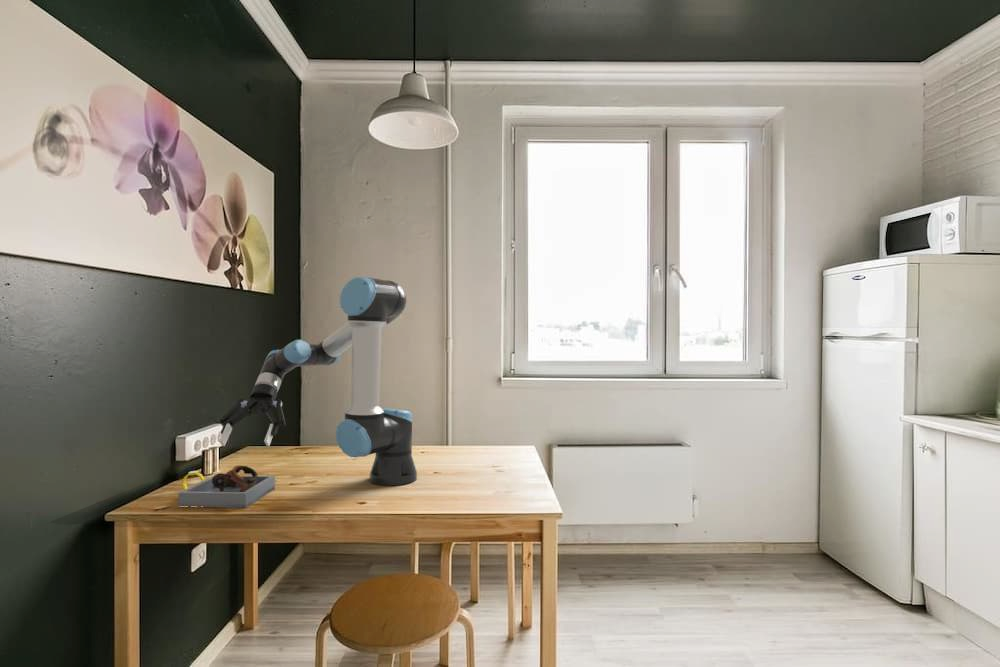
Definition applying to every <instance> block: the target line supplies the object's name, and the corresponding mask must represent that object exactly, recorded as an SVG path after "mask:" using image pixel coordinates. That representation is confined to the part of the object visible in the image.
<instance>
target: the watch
mask: <svg viewBox="0 0 1000 667" xmlns="http://www.w3.org/2000/svg"><path fill="white" fill-rule="evenodd" d="M195 475H196V476H197V477H199V478H200V480H201V482H202V481H204V480H206V479H205V477H204V476H203V474H202V473H200V471H199V470H191V471H189V472H188V473H187V474H186V475H185V476H184V477H183V479H182V487H183V490H185V489H187V488H189V487H188V485H187V479H188V477H189V476H195Z"/></svg>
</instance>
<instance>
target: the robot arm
mask: <svg viewBox="0 0 1000 667" xmlns="http://www.w3.org/2000/svg"><path fill="white" fill-rule="evenodd" d="M339 304H340V308H341V309H342V311H343V313H345V314H346V315H347V322H346V323H344V324H343V325H342V326H341V327H339V328H338V329H336V330H335V331H334V332H332V333H331V334H330V335H328V336H327V337H326V338H325V339H323V340H322V341H320V342H319V343H316V344H315V343H314V344H313V343H308V342H306V341H304V340H303V339H295V340H294V341H291V342H290V343H287V344H286V346H284V347H283V348H282V349H273V350H271V351H270V352H269V353H268V354H267V355H266V357H265V360H264V362H263V365H262V366H261V370H260V372H259V375H258V377H257V379H256V381H255V384H254V386H253V389H252V391H251V393H250V397H249V399H248V400H243V398H239V399H238V400H237V402H236V403H235V405H234V406H233V407H231V408H230V409H229V410H228V411H227V412H226V413H225V414H224V415H223V416H222V417H221V418H220V419H219V420H218V422H219V423H220V426H221V427H222V428H221V430H220V434H221V436H220V438H219V443H220V445H221V446H222V447H226V444H227V442H228V439H229V437H230V435H231V433H232V431H233V426H234V425H236V424H238V423H239V422H240V421H242V420H243V419H244V418H246V417H247V416H248V417H249V416H251V415H252V414H253V415H257V414H259V415H264V414H266V415H267V416H268V418H269V419H270V421H271V423H270V424H269V427H268V429H267V433H266V435H265V437H264V440H263V442H264V444H265V446H266V447H270V445H271V443H272V439H273V437H276V436H277V434H278V433H277V432H278V431H279V428H280V427H282V428H283V427H286V426H287V424H286V423H287V422H286V419H285V416H284V412H283V411H284V410H283V404H284V403H283V402H282V399H281V398H278V399H277V400H276V398H277V396H278V392H279V390H280V387H281V385H282V382H283V379H284V377H285V376H286V374H287V373H290V372H291V371H292V370H294V369H295V368H297V367H311V366H329V365H330V366H331V365H335V364H337V363H338V362H339V359H340V358H341V354H343V353H344V352H346V351H347V350H349V349H350V348H351V369H350V373H351V374H350V375H351V376H350V398H349V400H350V403H349V404H350V405H349V407H348V408H346V410H345V411H344V419H343V420H342V421H340V422H339V424H338V425H337V427H336V430H335V438H336V443H337V446H338V447H339V448H340V449H341V452H342V453H343V454H344V455H347V457H350V458H361V457H367V456H369V455H373V454H375V457H374V461H373V463H372V466H371V470H370V473H369V481H370V482H371V483H372V484H375V485H379V486H400V485H408V484H410V483H413V482H415V481H416V480H417V479H418V474H417V473H418V472H417V468H416V465H415V462H414V459H413V456H412V451H413V450H412V448H413V445H412V444H413V441H412V440H413V414H412V412H410V411H409V410H406V409H397V408H382V407H381V406H380V393H381V392H380V391H381V390H380V387H381V386H380V385H381V383H380V382H381V361H382V360H381V357H382V356H381V355H382V354H381V353H382V351H381V350H382V329H383V327H384V326H385V325H389V324H390V323H391V322H393V321H395V320H396V319H397V318H398V317H400V316H401V315H402V313H403V311H404V310H405V308H406V305H407V295H406V292H405V290H404V288H403V287H402V286H401V285H400V284H398V282H394V281H392V280H386V279H380V278H374V277H361V276H358V277H354V278H351V279H350V280H348V281H347V283H345V285H344V286H343V287H342V290H341V292H340V297H339ZM273 407H275V408H276V411H277V415H278V419H279V420H277V418H276V417H275V415H274V413H273V412H272V410H271V409H272V408H273Z"/></svg>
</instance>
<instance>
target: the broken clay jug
mask: <svg viewBox="0 0 1000 667" xmlns="http://www.w3.org/2000/svg"><path fill="white" fill-rule="evenodd" d="M241 471H243V474H245V475H247V474H249V475H251V476H253V478H251V479H248V480H247V482H243V481H244V478H243V477H241V476H242V475H239V474H238V473H239V472H241ZM213 476H214V477H213ZM213 476H212V477H213V478H212V483H213V485H214V486H215V487H216V488H219V489H220V492H222V491H224V488H226V487H234V488H235V487H236V484H237V483H238V484H240V485H242V487H241V490H240V492H245V491H246V490H248V489H250V488H251V487H253V486H255V485H256V482H257V479H256V478H257V476H258V472H256V471H255V469H253V468H252V467H249V466H246V465H235V466H234V467H233V468H232V469H231V470H229V471H227V472H226V473H221V472H220V473H216V474H214V475H213ZM219 479H221V480H222V482H221V483H218V480H219Z"/></svg>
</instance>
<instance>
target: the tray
mask: <svg viewBox="0 0 1000 667" xmlns="http://www.w3.org/2000/svg"><path fill="white" fill-rule="evenodd" d="M214 476H215V475H213V476H211V477H209V478H207V479H205V480H204V481H202V480H201V481H200V482H198V483H196V484H194V485H192V486H190V487H188V488H187V489H183V490H181V491H179V492H178V500H177V501H178V503H177V504H178V505H177V506H188V507H191V506H197V507H201V506H203V507H216V508H215V509H246V508H248V507H249V506H251V505H253V504H254V503H256V502H257V501H259V500H260V499H262V498H263V497H265V496H266V494H267V495H268V494H270V493H271V492H272V490H273V491H274V490H275V489H276V475H257V478H256V479H257V482H256V485H255V486H253V487H251V488H250V489H248V490H246V491H245V492H240V490H241V487H242V485H240V484H238V483H237V484H236V487H235V488H234V487H226V488H224V491H222V492H220V489H219V488H216V487H215V486H214V485H213V483H212V478H213V477H214ZM240 476H241V477H243V478H244V481H243V482H247V480H248V479H251V478H253V476H252V475H240ZM221 482H222V480H221V479H219V480H218V483H221ZM269 492H270V493H269ZM219 507H220V508H219Z"/></svg>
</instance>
